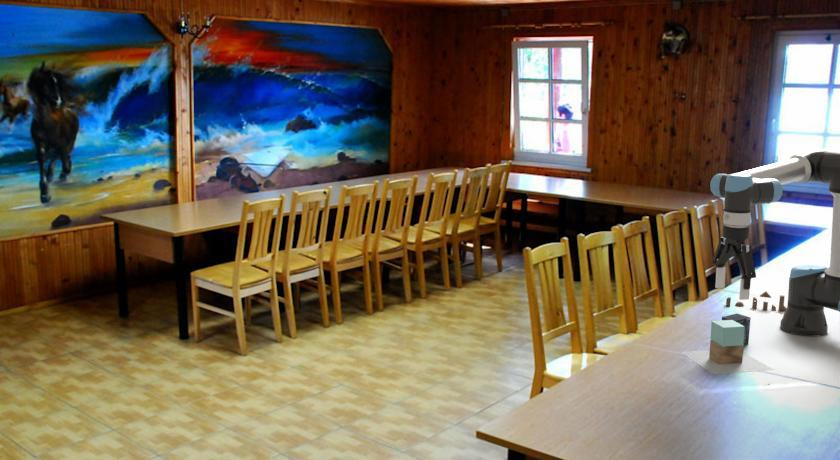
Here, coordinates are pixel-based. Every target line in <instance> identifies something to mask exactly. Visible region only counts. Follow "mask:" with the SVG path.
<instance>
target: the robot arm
mask: <svg viewBox="0 0 840 460" xmlns="http://www.w3.org/2000/svg"><path fill="white" fill-rule="evenodd" d="M806 182H807V183H809V182H810V183H821V184H826V185H828V192H829V193H830V194H831V195H832V196H833V202H832V203H833V206H832V224H831V226H832V227H831V240H830V241H831V244H830V260H829V262H830V264H829V267H827V266H825V265H815V264H814V265H813V264H811V265H807V264H806V265H797V266H794V267H792V268H791V270H790V273H789V277H788V278H789V280H788V292H787V293H788V296H787V305H786V308H787V309H786V311H785V312H784V314H783V315H782V318H781V320H780V326H779V327H780V329H781V330H783V331H784V332H787V333H790V334H794V335H796V336H797V335H798V336H804V337H805V336H806V337H820V336H824V335H827V334H828V329H829V326H828V321H827V319H826V315H825V308H827V309H831V310H833V311H837V312H839V313H840V149H838V148H837V149H835V148H834V149H833V148H820V149H814V150H811V151H810V150H809V151H807V152H803V153H799V154H795V155H792V156H790V158H789V159H787V160H784V161H779V162H775V163H771V164H767V165H762V166H759V167H755V168H752V169H748V170H743V171H740V172H739V171H738V172H735V173H729V174H727V173H724V172H723V173H717V174H715V175H713V177H712V178H711V180H710V183H709V184H710V186H709V187H710V188H709V189H710V192H711V193H712V194H713V195H714V196H715V197H719V198H722V199H724V202H723V203H724V204H723V205H724V207H723V217H722V218H723V221H722V222H723V224H724V225H723V226H722V235H721V236H720V237H719V239H718V244H717V248H716V250H715V252H714V255H713V258H712V262H711V263H712V264H714V266H715V285H714V287H715V289H724V288H726V287H725V286H726V285H725V283H726V272H727V271H726V270H727V269H726V264H727V263H728V261H729V259H730V258H731V256H732V257H733V258H734V259H735V260H736V262H737V265H738V268H739V270H740V274H741V277H740V285H739V298H738V299H739V300H740V301H742V300H744V301H745V300H750V290H751V280H752V279H757V274H756V269H755V263H754V259H753V253H752V245H751V244H745V243H746V240H748V239H749V237H750V227H749V226H750V225H751V211H752V209H751V208H752V205H753V206H754V205H763V204H769V205H770V204H771V203H775V202H778V201H779V200H780V199H781V197H782V196H783V190H784V189H783V185H788V184H791V183H797V184H802V183H806Z"/></svg>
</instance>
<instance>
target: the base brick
mask: <svg viewBox="0 0 840 460" xmlns="http://www.w3.org/2000/svg"><path fill="white" fill-rule="evenodd" d="M744 346H745V345H744V344H743V345H738V346H723V347H722V346H721V345H719V344H717V343H716V342H714V341H712V340H711V339H710V342H709V350H710V354H709V359H711V360H712V361H714V362H716V363H717V364H731V363H742V360H743V352H744Z"/></svg>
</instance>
